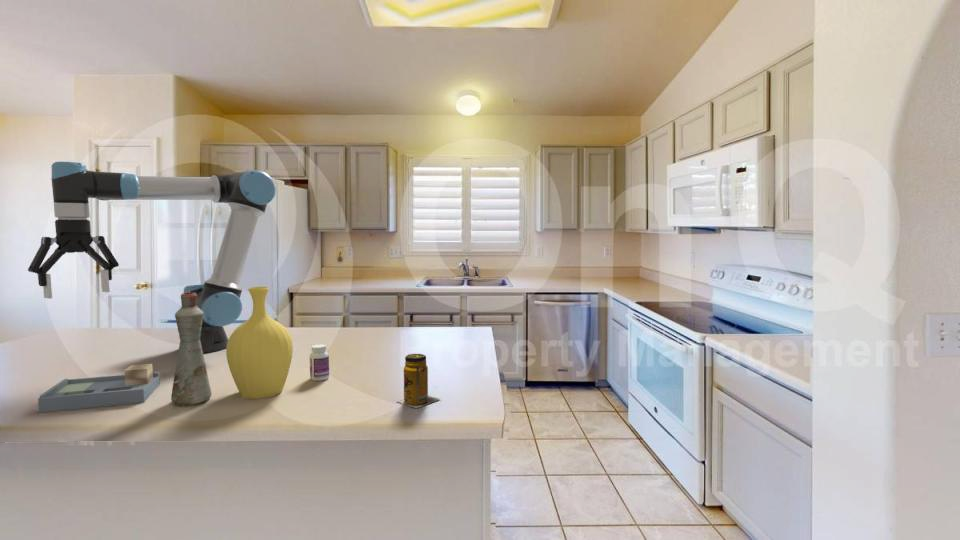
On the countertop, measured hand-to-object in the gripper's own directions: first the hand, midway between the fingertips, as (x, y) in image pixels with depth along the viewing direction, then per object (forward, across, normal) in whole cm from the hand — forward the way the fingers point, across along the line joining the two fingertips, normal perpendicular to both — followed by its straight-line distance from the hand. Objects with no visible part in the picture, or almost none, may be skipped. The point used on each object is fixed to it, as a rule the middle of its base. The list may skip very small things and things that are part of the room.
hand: (78, 295), depth 138 cm
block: (+22, -2, +24) cm, 33 cm away
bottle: (+24, -4, +44) cm, 50 cm away
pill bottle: (+25, -34, +57) cm, 71 cm away
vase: (+25, -18, +53) cm, 61 cm away
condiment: (+25, -33, +93) cm, 102 cm away
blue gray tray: (+24, +5, +22) cm, 33 cm away
